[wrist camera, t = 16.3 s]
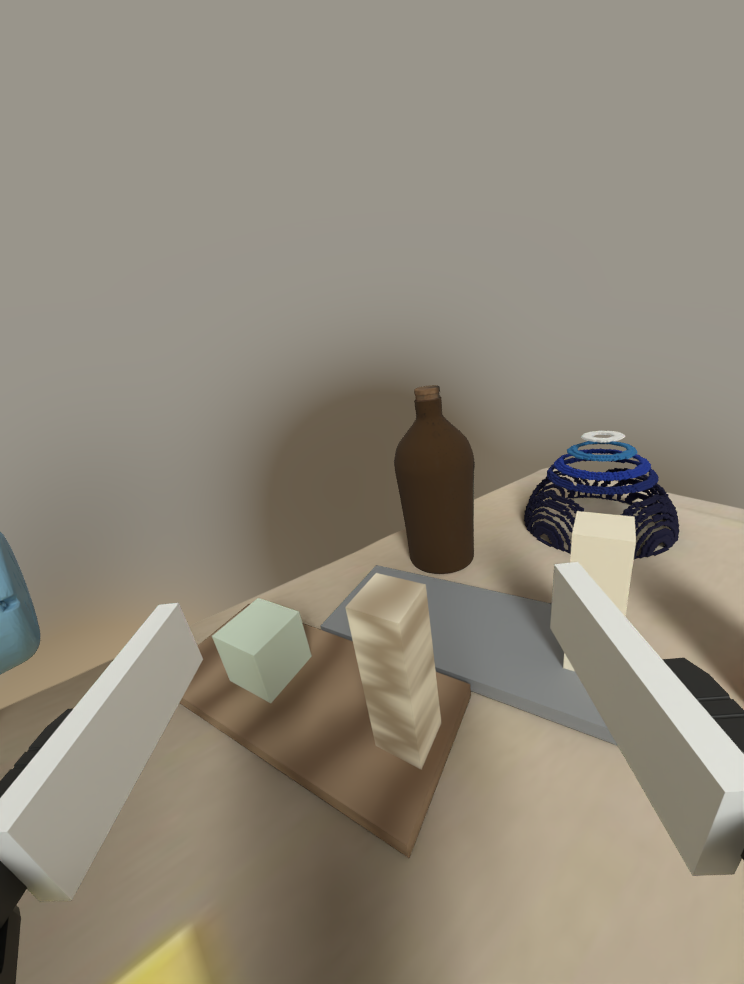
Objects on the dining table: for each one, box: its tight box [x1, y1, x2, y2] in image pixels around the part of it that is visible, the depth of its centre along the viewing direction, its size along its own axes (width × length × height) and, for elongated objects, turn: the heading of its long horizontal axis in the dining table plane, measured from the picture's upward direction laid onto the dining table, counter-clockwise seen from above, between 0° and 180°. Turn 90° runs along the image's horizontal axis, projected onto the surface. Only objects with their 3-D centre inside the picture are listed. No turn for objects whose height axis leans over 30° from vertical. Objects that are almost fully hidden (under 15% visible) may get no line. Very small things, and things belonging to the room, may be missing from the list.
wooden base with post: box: [180, 573, 471, 858], centre depth 34 cm, size 30×13×16 cm, turn 59°
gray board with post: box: [321, 511, 636, 745], centre depth 38 cm, size 30×13×16 cm, turn 59°
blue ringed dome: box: [524, 431, 679, 559], centre depth 55 cm, size 20×20×14 cm
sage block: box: [212, 598, 312, 703], centre depth 37 cm, size 6×6×6 cm
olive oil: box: [394, 385, 474, 574], centre depth 51 cm, size 11×11×25 cm
